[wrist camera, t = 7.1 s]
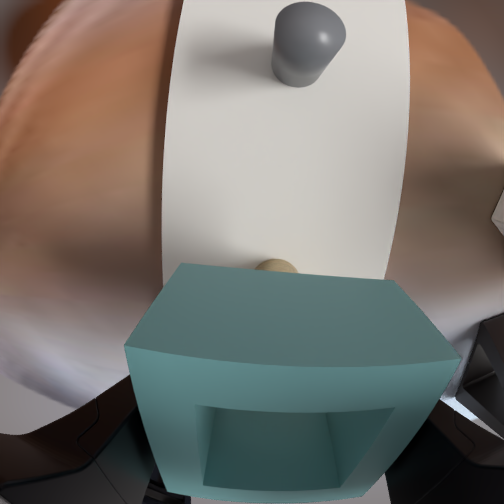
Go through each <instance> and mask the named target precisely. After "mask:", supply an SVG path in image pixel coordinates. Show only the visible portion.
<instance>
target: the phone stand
mask: <svg viewBox="0 0 504 504" xmlns="http://www.w3.org/2000/svg"><path fill="white" fill-rule="evenodd" d="M455 397H456V400H457V401H458V402H460V403H461V404H462V405H463V406H465V407H466V408H467V409H468V410H469V411H471V412H472V413H473V414H474V415H476V416H477V417H478V418H479V419H480V420H482V421H483V422H484V423H485V424H486V425H488V426H489V427H490V428H491V429H493V430H494V431H495V432H496V433H497V434H499V435H500V436H501V437H502V438H503V439H504V314H503V315H500V316H498V317H495V318H492V319H490V320H487V321H484V322H481V323H480V327H479V330H478V334H477V337H476V340H475V344H474V347H473V350H472V353H471V356H470V359H469V364H468V365H467V367H466V370H465V373H464V375H463V378H462V381H461V383H460V386H459V388H458V390H457V393H456V396H455Z"/></svg>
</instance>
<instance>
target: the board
mask: <svg viewBox="0 0 504 504" xmlns="http://www.w3.org/2000/svg"><path fill="white" fill-rule="evenodd" d="M409 101H410V61H409V39H408V26H407V16H406V7H405V0H184V2H183V7H182V12H181V17H180V22H179V28H178V33H177V39H176V45H175V51H174V58H173V65H172V72H171V80H170V89H169V97H168V107H167V118H166V130H165V143H164V160H163V183H162V270H163V287H164V286H165V284H166V283H167V282H168V280H169V279H170V277H171V276H172V275H173V273H174V272H175V270H176V269H177V268H178V266H179V265H180V263H190V264H200V265H211V266H221V267H232V268H243V269H255V268H256V267H257V266H258V265H259V264H260V263H262V262H264V261H266V260H269V259H282V260H285V261H288V262H289V263H291V264H292V265H293V266H294V267H295V268H296V269H297V271H298V273H301V274H313V275H326V276H339V277H353V278H366V279H381V280H384V276H385V272H386V268H387V264H388V260H389V255H390V251H391V246H392V242H393V237H394V232H395V227H396V221H397V216H398V210H399V204H400V198H401V191H402V184H403V176H404V168H405V159H406V150H407V138H408V124H409Z"/></svg>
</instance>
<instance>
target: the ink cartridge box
mask: <svg viewBox="0 0 504 504" xmlns="http://www.w3.org/2000/svg"><path fill="white" fill-rule="evenodd" d="M491 220H492V222H493V223H494V224H495V225H496V227H497V228H498V229H499V231H500V232H501V233H502V234H503V236H504V190H503V193H502V195H501V198H500V200H499V202H498V204H497V206H496V209H495V211H494V213H493V215H492V218H491Z"/></svg>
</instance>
